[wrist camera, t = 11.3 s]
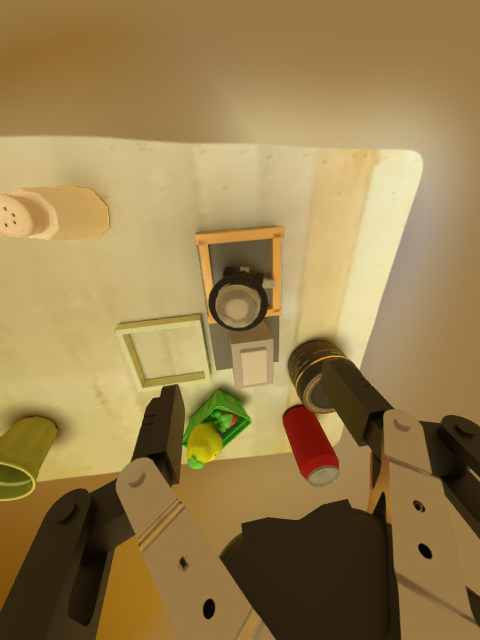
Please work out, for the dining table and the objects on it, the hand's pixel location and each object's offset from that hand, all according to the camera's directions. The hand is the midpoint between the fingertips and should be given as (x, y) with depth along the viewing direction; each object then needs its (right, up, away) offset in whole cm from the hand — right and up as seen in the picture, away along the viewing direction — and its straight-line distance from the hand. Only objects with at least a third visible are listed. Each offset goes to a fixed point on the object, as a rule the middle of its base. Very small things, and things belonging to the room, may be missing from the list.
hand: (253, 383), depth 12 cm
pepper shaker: (-18, +16, +13) cm, 27 cm away
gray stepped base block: (-1, +6, +20) cm, 21 cm away
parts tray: (-12, -2, +22) cm, 25 cm away
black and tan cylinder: (0, +9, +16) cm, 18 cm away
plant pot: (-36, -15, +26) cm, 47 cm away
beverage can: (+11, -16, +34) cm, 39 cm away
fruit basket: (-6, -13, +30) cm, 33 cm away
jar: (+12, -4, +27) cm, 30 cm away
